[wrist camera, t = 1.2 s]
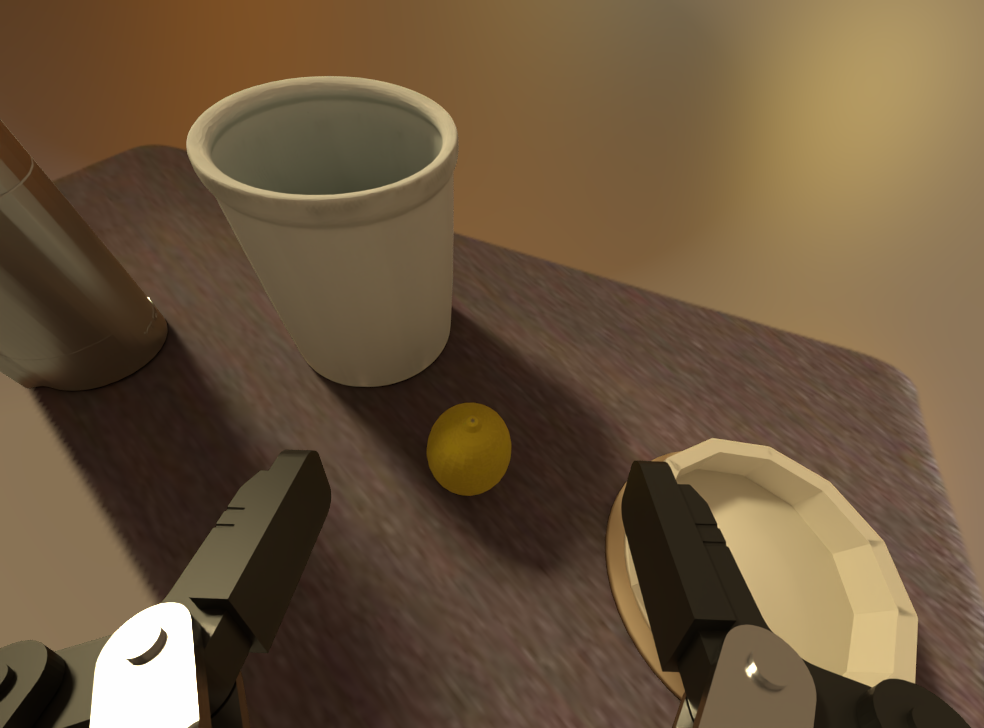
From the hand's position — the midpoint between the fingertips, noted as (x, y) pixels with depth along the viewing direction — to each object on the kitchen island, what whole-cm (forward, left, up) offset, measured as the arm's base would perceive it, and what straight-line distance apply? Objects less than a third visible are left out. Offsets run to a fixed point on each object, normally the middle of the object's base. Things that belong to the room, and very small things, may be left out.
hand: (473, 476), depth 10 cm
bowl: (+17, -6, -18) cm, 25 cm away
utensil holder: (0, +23, -19) cm, 29 cm away
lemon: (+3, +7, -19) cm, 20 cm away
